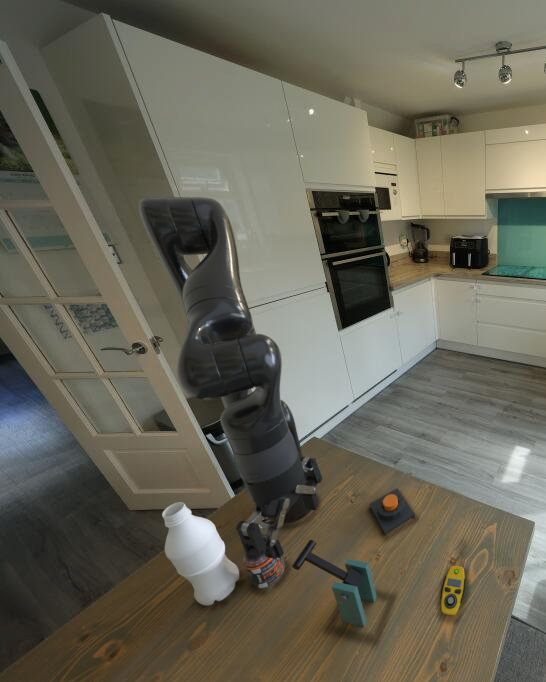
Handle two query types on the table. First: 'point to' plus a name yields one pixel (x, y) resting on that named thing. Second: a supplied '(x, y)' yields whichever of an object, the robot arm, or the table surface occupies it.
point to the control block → (392, 512)
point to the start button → (390, 502)
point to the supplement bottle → (263, 569)
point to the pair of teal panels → (355, 594)
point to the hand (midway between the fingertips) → (295, 530)
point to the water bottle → (199, 554)
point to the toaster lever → (327, 566)
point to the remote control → (452, 590)
